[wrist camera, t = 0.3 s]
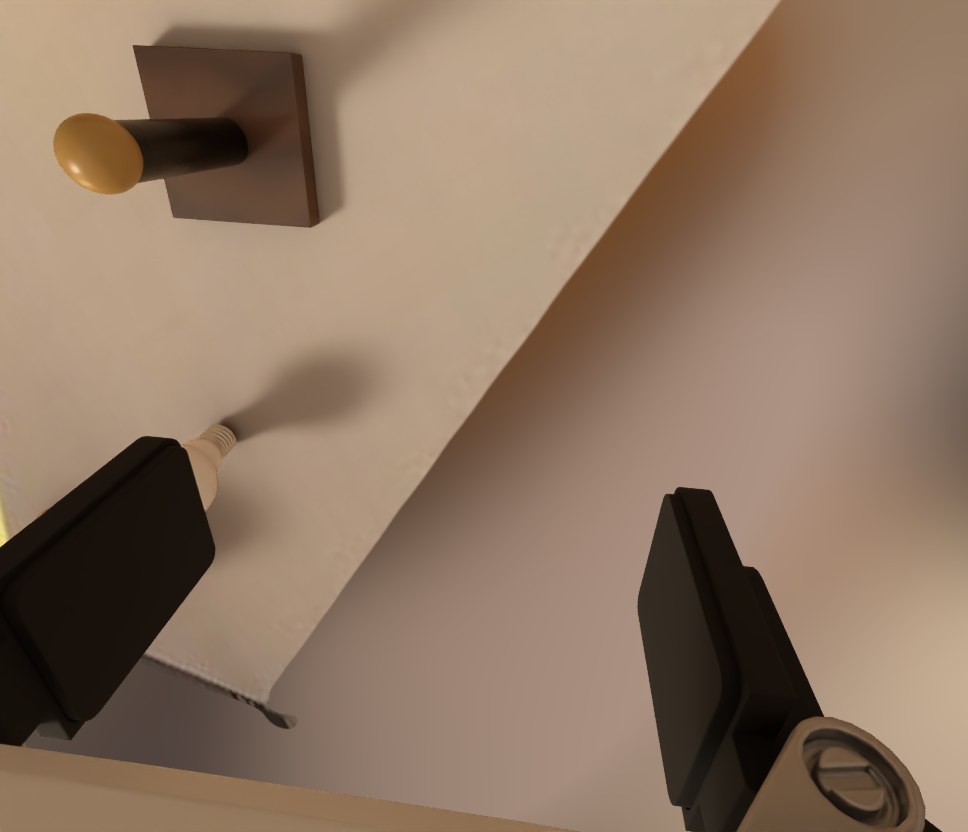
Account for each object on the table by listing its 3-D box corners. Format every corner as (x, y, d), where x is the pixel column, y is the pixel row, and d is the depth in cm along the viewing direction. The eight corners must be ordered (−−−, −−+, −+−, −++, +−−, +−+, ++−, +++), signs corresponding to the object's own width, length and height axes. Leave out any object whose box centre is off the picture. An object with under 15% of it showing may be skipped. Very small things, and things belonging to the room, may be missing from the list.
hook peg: (196, 110, 34) (20, 111, 23) (247, 113, 34) (95, 115, 22) (207, 169, 36) (49, 196, 24) (256, 172, 35) (119, 201, 24)
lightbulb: (243, 399, 46) (163, 474, 37) (269, 459, 49) (201, 542, 40) (179, 406, 47) (85, 480, 38) (208, 464, 50) (129, 546, 41)
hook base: (149, 47, 34) (132, 45, 32) (301, 54, 33) (290, 52, 32) (186, 213, 39) (173, 217, 37) (319, 223, 38) (310, 227, 37)
